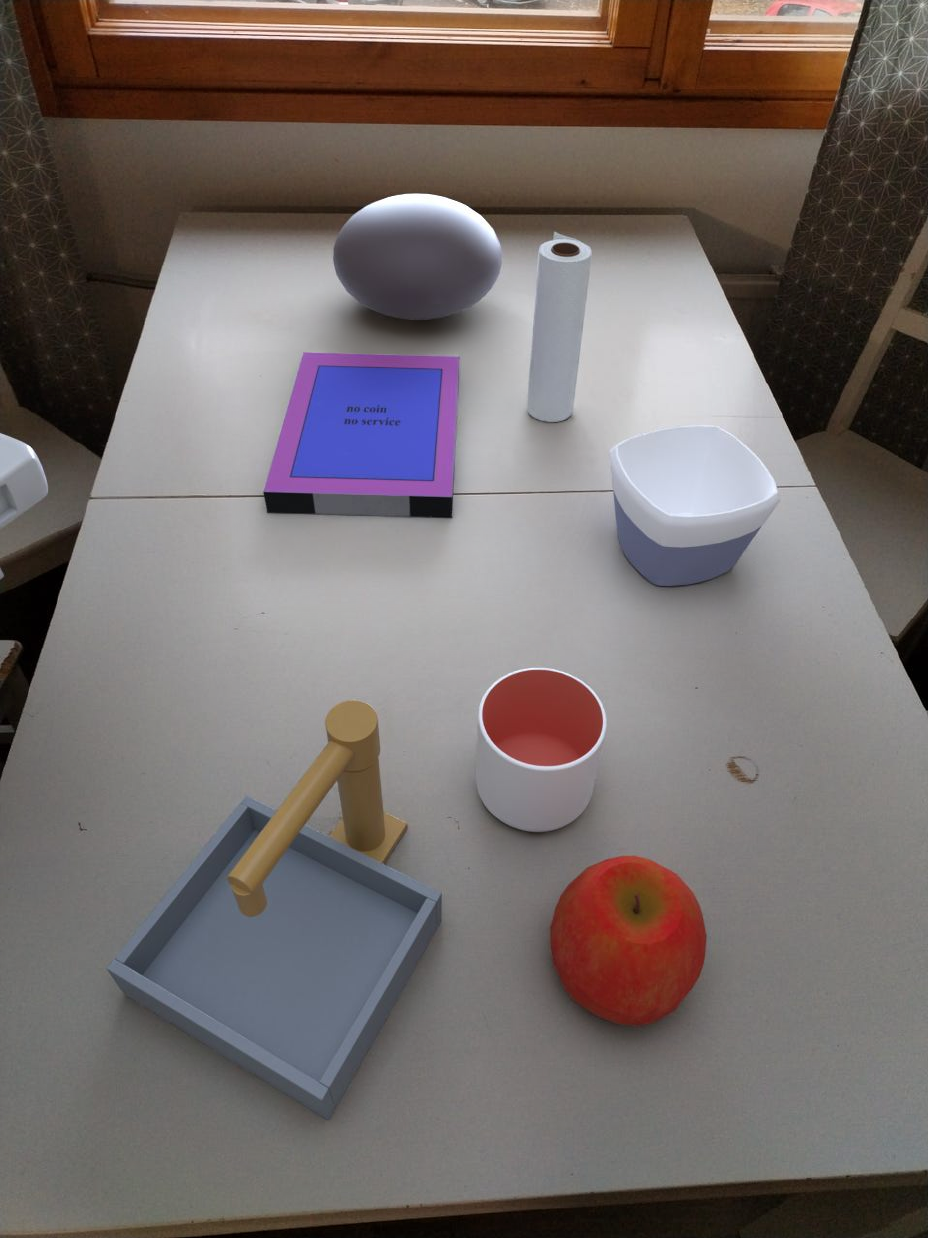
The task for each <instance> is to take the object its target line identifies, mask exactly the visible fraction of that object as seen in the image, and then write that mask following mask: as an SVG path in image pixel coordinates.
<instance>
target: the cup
mask: <svg viewBox="0 0 928 1238" xmlns="http://www.w3.org/2000/svg"><path fill="white" fill-rule="evenodd" d="M607 724H608V722H607V714H606V709H605V707H604V705H603V703H602V701H601V699H600V698H599V696H598V695H597V693H596V692H595V690H593V689H592V688H591V687H590V686H589V685H588V684H586V683H585V682H584V681H582V680H581V679H579V678H578V677H576V676H574V675H572V674H570V673H567V672H564V671H562V670H557V669H553V668H547V667H530V668H522V669H519V670H515V671H512V672H509V673H507V674H505V675H503V676H501V677H500V678H499V679H497V680H495V682H493V683H492V684H491V685H490V686H489V688H488V689H487V690H486V691H485V693H484V694H483V696H482V698H481V700H480V702H479V707H478V712H477V733H476V734H477V735H476V757H475V786H476V790H477V792H478V795H479V797H480V800H481V802H482V803H483V805H484V806H485V807H486V809H487V810H488V811H489V812H490V813H491V815H492V816H494V818H496V819H497V820H499V821H500V822H502V823H503V824H505V825H507V826H509V827H511V828H514V829H517V830H520V831H525V832H532V833H543V832H549V831H550V832H551V831H554V830H555V831H556V830H558V829H561V828H563V827H565V826H567V825H569V824H571V823H573V822H574V821H575V820H576V819H578V818H579V816H580V815H582V813H583V812H584V811H585V810H586V808H587V807H588V806H589V803H590V801H591V799H592V796H593V792H594V789H595V785H596V784H595V783H596V779H597V775H598V770H599V765H600V760H601V756H602V753H603V752H602V751H603V746H604V743H605V737H606V733H607V729H608V728H607V726H608V725H607Z"/></svg>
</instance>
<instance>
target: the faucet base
mask: <svg viewBox="0 0 928 1238" xmlns="http://www.w3.org/2000/svg"><path fill="white" fill-rule="evenodd" d="M381 780H382V779H381V769H380V759H379V757H378V759H377V760H376V761H375V763H374V764H373V765H371V766H370V767H368V768H366V769H364V770H360V771H347V770H344V771H343V772H342V774H341V775H340V777H339V778H338V779H337V781H336V783H337V790H338V795H339V802H340V808H341V815H342V817H341V819H340V820H339V822H337V825H336V826H335V827H334V829H333V830H332V832H331V833H330V835H329V837H331V838H333V839H334V840H336V841H338V842H340V843H342V844H344V845H346V846H348V847H350V848H352V849H354V850H356V851H358V852H360V853H362V854H364V855H366V856H368V857H370V858H372V859H374V860H376V861H378V862H380V863H382V864H384V865H386V863H387V861H388V859H389V858H390V856H391V855H392V854H393V852H394V850H395V848H396V847H397V845H398V844H399V843H400V841H401V839H402V838H403V836H404V834H405V832H406V831H407V830H408V823H407V822H406V821H404V820H403V819H400V818H398V817H396V816H395V815H392V814H389V813H387V812H385V811H384V803H383V802H384V801H383V794H382V793H383V792H382V781H381Z"/></svg>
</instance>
